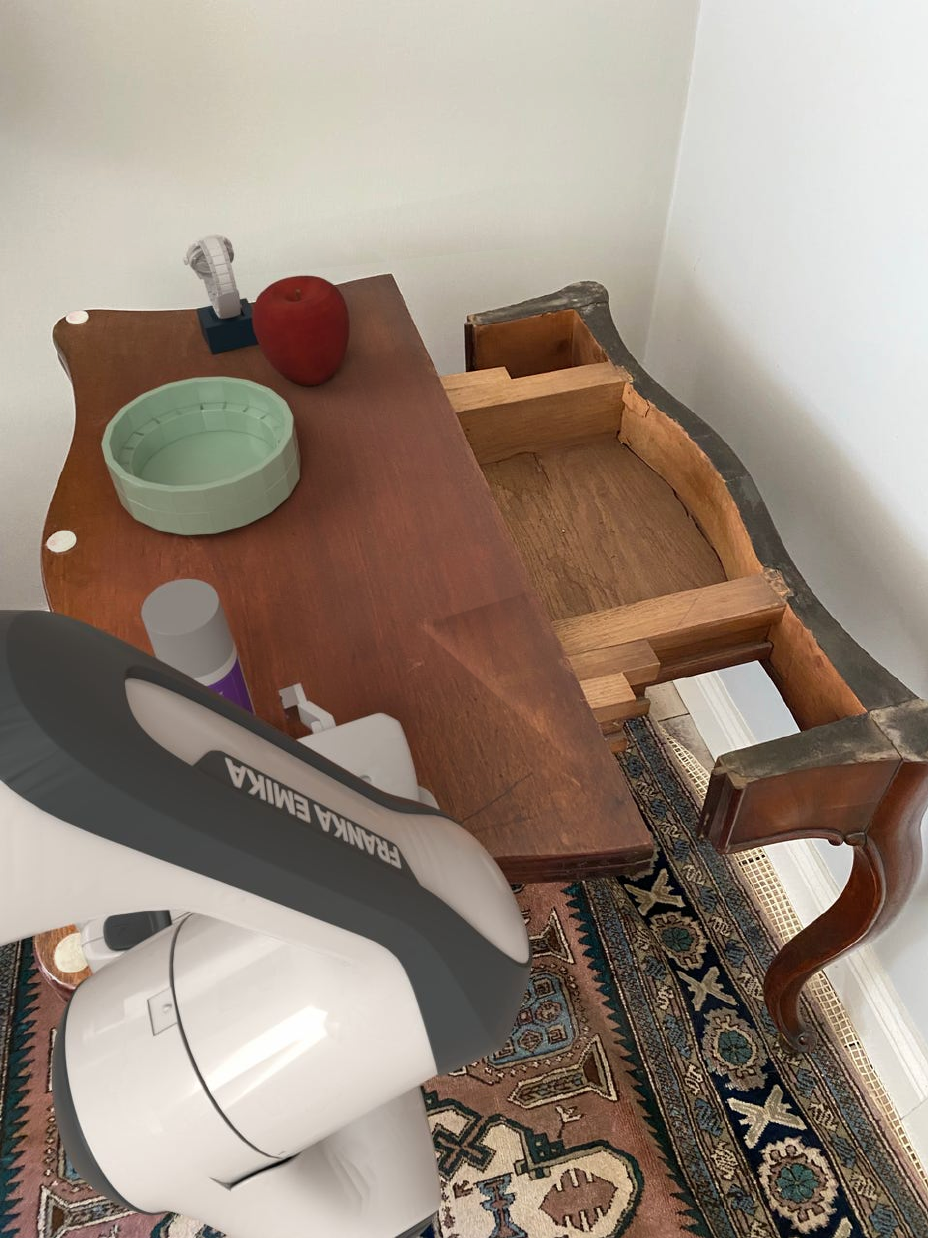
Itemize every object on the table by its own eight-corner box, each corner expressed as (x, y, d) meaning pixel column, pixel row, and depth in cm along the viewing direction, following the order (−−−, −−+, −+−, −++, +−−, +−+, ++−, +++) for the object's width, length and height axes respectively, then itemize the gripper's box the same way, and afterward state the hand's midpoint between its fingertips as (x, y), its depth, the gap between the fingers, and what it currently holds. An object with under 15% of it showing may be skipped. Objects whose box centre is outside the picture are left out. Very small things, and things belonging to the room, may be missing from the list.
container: (218, 790, 61) (163, 649, 50) (184, 746, 64) (124, 603, 52) (277, 751, 63) (236, 608, 52) (241, 711, 66) (195, 565, 55)
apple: (247, 368, 95) (228, 279, 88) (326, 339, 99) (314, 251, 91) (290, 411, 90) (274, 320, 83) (372, 379, 94) (363, 289, 86)
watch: (246, 315, 102) (227, 218, 94) (266, 350, 97) (247, 252, 89) (197, 326, 101) (173, 228, 93) (215, 362, 96) (191, 263, 88)
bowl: (135, 560, 76) (116, 511, 72) (108, 448, 86) (90, 399, 82) (322, 510, 80) (315, 461, 76) (276, 409, 90) (267, 361, 86)
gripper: (457, 819, 47) (372, 632, 55) (47, 968, 42) (23, 738, 50) (457, 873, 52) (379, 694, 60) (89, 1014, 47) (61, 796, 55)
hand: (214, 715), depth 55 cm, fingers open, 8 cm apart
